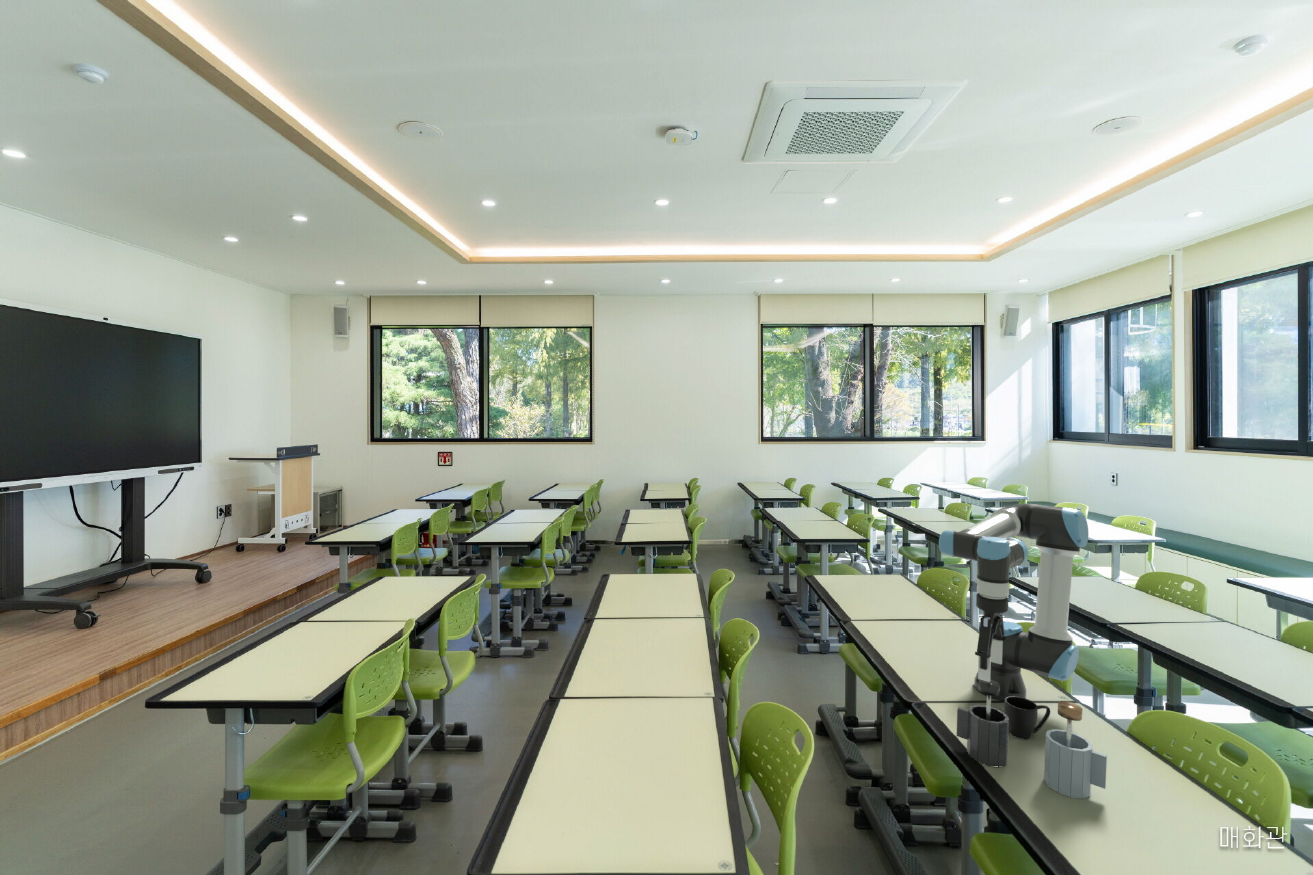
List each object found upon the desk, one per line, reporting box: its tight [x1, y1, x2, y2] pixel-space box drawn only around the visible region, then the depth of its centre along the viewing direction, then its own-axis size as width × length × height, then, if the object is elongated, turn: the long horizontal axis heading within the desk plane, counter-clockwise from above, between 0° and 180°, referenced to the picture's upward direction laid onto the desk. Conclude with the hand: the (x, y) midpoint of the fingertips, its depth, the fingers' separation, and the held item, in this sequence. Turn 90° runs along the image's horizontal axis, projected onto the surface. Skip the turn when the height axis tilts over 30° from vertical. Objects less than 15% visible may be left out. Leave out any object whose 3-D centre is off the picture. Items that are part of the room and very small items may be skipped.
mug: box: [1003, 696, 1051, 741], centre depth 167 cm, size 8×12×10 cm
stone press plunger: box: [1057, 700, 1083, 748], centre depth 144 cm, size 6×6×18 cm
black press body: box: [956, 704, 1010, 768], centre depth 157 cm, size 9×12×12 cm
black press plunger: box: [978, 680, 1000, 721], centre depth 156 cm, size 6×6×18 cm
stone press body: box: [1043, 728, 1108, 800], centre depth 143 cm, size 9×12×12 cm
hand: (990, 671), depth 156 cm, fingers open, 13 cm apart
